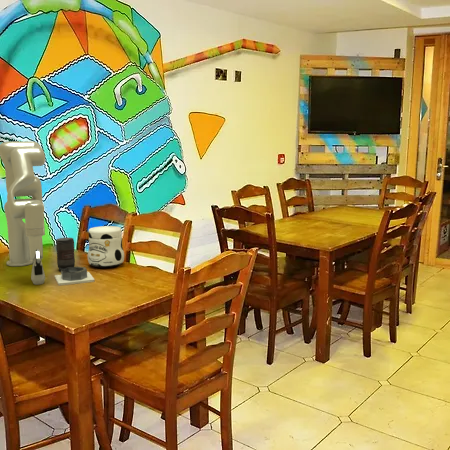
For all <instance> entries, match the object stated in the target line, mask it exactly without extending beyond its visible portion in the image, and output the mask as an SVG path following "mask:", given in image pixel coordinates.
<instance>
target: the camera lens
mask: <svg viewBox="0 0 450 450" xmlns="http://www.w3.org/2000/svg"><path fill="white" fill-rule="evenodd" d="M55 240H56V242H55V248H56V265H57V268H58V271H59V272H60V273H61V269H64V268H67V267H76V266H75V265H76V264H75V263H76V259H75V240H74V238H73V237H59V238H57V239H55Z"/></svg>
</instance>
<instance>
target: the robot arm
mask: <svg viewBox="0 0 450 450" xmlns="http://www.w3.org/2000/svg"><path fill="white" fill-rule="evenodd" d="M45 154H46V153H45V152H44V149H43V148H42V146H41V145H40V144H39V143H38V142H37V141H31V140H30V141H27V140H26V141H20V140H19V141H4V142H1V143H0V159H1V161H2V163H3V168H4V169H5V170H4V171H5V189H6V193H7V195H6V200H7V201H6V202H5V203H4V205H3V206H4V207H3V208H4V209H3V211H4V214H5V219H6V226H7V239H8V252H9V260H7V261H6V266H10V267H25V266H29V265H33V260H32V259H34V263H35V266H34V273H35V275H42V274H43V270H44V269H43V270H42V266H43V262H42V260H43V258H44V253H43V252H44V248H43V247H44V245H43V244H44V243H43V236H45V235H46V230H45V228H46V227H45V204H44V203H43V188H42V182H41V179H40V178H39V177H38V176H36V175H35V171H34V167H42V166H44V165H45V164H46V156H45ZM15 197H18V198H15ZM19 197H31V198H19ZM24 220H25V221H24ZM36 260H37V261H36Z"/></svg>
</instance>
